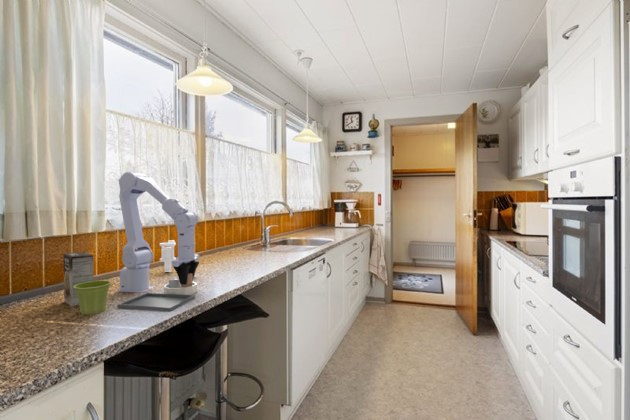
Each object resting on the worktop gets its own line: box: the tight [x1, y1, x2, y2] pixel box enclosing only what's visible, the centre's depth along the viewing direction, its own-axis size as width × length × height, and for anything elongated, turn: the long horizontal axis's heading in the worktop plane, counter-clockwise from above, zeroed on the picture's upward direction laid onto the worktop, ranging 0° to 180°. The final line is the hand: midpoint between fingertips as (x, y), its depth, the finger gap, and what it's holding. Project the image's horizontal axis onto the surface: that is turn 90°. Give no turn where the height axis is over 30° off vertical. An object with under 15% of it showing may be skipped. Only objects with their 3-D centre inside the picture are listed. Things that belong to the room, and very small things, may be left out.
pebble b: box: [181, 273, 194, 287], centre depth 122 cm, size 4×4×4 cm
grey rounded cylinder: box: [168, 277, 180, 288], centre depth 123 cm, size 4×4×4 cm
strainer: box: [159, 239, 177, 273], centre depth 159 cm, size 7×7×15 cm
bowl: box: [163, 281, 198, 295], centre depth 122 cm, size 11×11×3 cm
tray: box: [117, 292, 196, 312], centre depth 110 cm, size 18×14×2 cm
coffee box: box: [63, 251, 94, 308], centre depth 111 cm, size 9×6×16 cm
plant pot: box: [73, 279, 112, 315], centre depth 101 cm, size 9×9×9 cm
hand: (186, 282), depth 122 cm, fingers closed on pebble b, 4 cm apart
